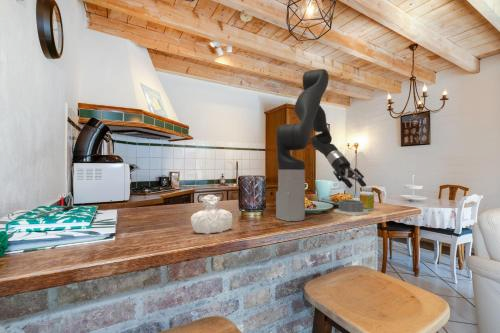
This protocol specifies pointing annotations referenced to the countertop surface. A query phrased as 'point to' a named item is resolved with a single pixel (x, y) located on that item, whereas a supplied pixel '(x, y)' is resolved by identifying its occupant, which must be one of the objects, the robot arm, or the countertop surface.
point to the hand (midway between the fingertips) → (358, 186)
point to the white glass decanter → (211, 217)
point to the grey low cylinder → (351, 207)
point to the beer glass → (367, 198)
